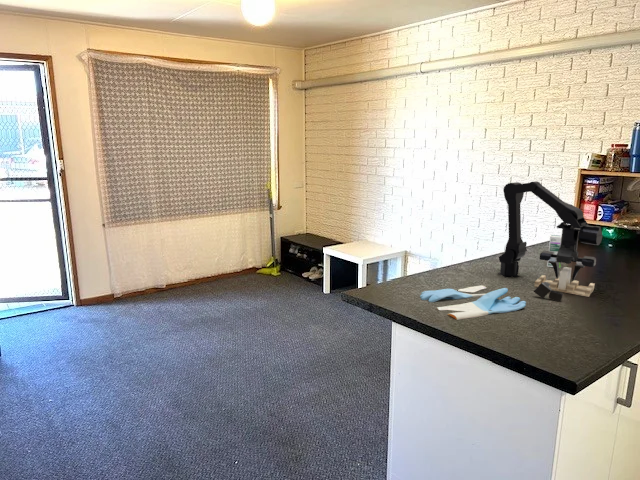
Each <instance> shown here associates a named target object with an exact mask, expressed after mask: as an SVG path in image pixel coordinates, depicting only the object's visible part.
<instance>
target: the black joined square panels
mask: <svg viewBox="0 0 640 480" xmlns="http://www.w3.org/2000/svg"><path fill="white" fill-rule="evenodd" d="M549 286H550V284H548V282H544V283H543V282H542V283H541V284H540V285H539V286H538V287H535V289H534V290H533V293H535V294H536V295H537V296H538V297H540V298H541V299H542V300H543V299H544V298H545V297H546V296H547V295H548V298H549V299H550V300H551V301H555V302H561V301H562V298H563V294H564V293H563V292H559V291H554V290H551V288H549Z"/></svg>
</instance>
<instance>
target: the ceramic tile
mask: <svg viewBox="0 0 640 480" xmlns="http://www.w3.org/2000/svg"><path fill="white" fill-rule="evenodd" d="M572 269H573V268H572V267H567V266H563V268H562V269H561V270H559V276H558V278H559V285H558V289H563V290H566V289H567V287H568V286H569V284H570V283H571V278H572V277H571V276H572Z"/></svg>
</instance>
